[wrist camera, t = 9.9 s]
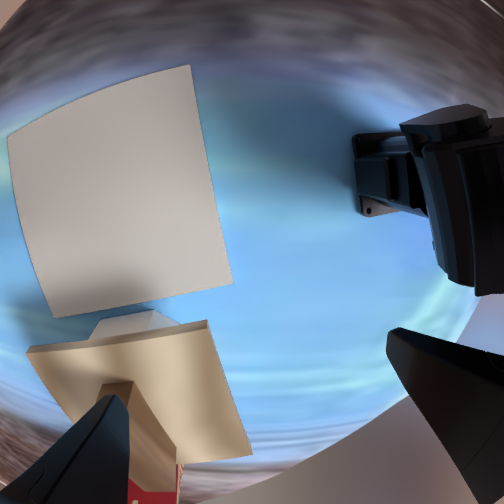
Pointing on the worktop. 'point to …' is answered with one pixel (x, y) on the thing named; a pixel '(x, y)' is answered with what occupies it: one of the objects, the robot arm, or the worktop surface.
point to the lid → (152, 396)
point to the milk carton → (142, 500)
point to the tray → (119, 197)
